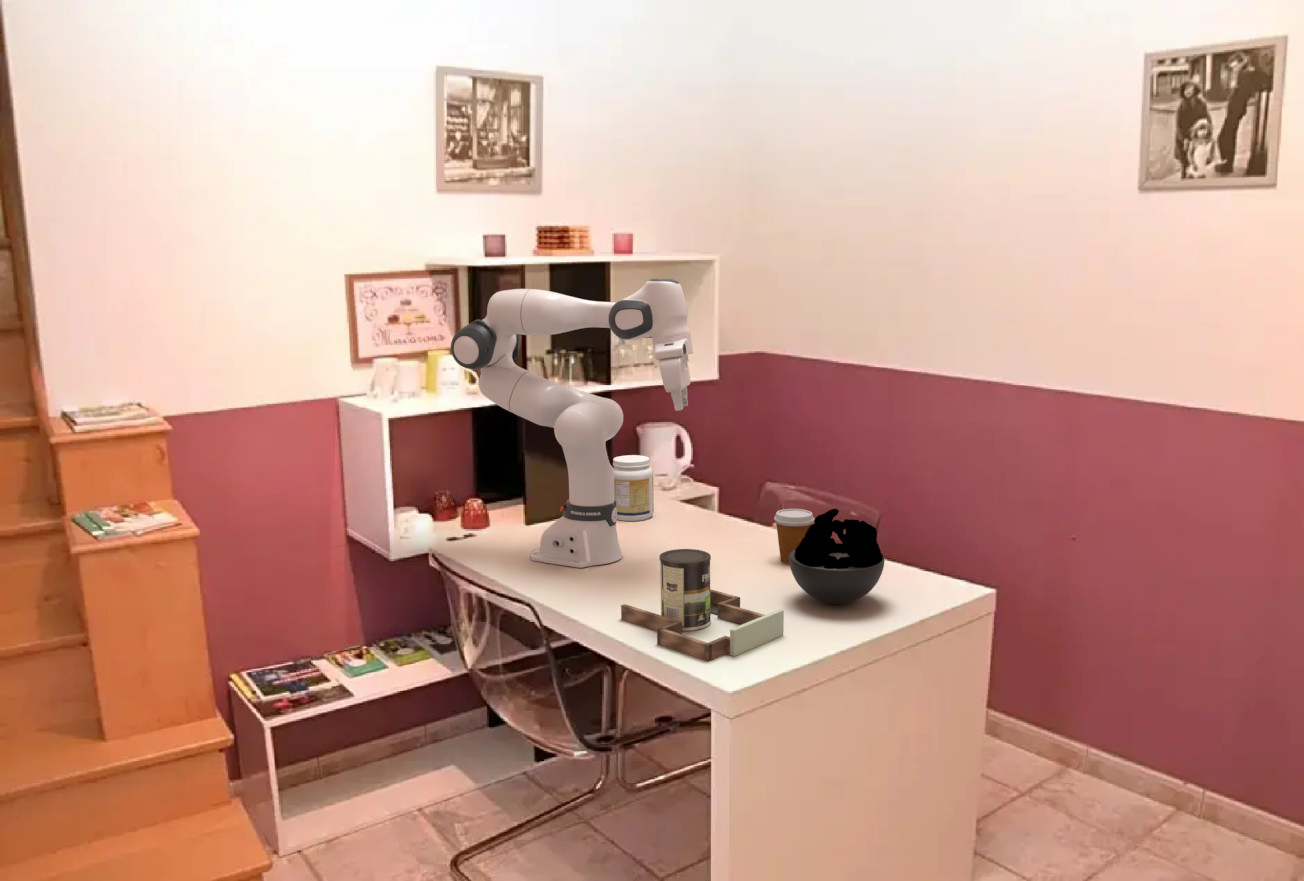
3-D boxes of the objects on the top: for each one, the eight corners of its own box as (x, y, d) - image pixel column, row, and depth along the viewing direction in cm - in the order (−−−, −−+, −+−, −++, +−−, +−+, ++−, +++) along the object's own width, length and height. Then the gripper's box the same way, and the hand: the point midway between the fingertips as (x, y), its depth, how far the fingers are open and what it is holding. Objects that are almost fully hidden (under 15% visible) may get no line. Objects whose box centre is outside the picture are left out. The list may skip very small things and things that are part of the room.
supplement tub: (622, 510, 307) (620, 453, 304) (660, 513, 303) (659, 455, 300) (604, 520, 296) (602, 460, 293) (643, 523, 291) (642, 463, 288)
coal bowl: (866, 623, 211) (868, 532, 208) (773, 608, 221) (774, 521, 218) (895, 595, 229) (897, 510, 225) (808, 582, 238) (809, 501, 235)
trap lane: (603, 625, 212) (603, 611, 212) (686, 595, 230) (686, 582, 229) (712, 662, 192) (712, 647, 192) (794, 627, 210) (794, 612, 209)
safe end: (730, 655, 196) (730, 629, 195) (779, 633, 206) (779, 609, 206) (734, 656, 195) (734, 630, 194) (783, 634, 206) (783, 610, 205)
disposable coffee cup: (793, 569, 248) (793, 520, 246) (765, 560, 255) (766, 512, 253) (822, 562, 253) (822, 513, 251) (794, 553, 261) (794, 506, 259)
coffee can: (713, 615, 218) (713, 549, 215) (708, 632, 208) (707, 563, 205) (664, 613, 219) (663, 547, 217) (656, 630, 209) (655, 561, 207)
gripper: (665, 348, 251) (674, 406, 253) (653, 352, 231) (662, 414, 233) (691, 345, 250) (699, 402, 252) (681, 348, 230) (690, 410, 232)
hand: (681, 408), depth 242 cm, fingers open, 8 cm apart
